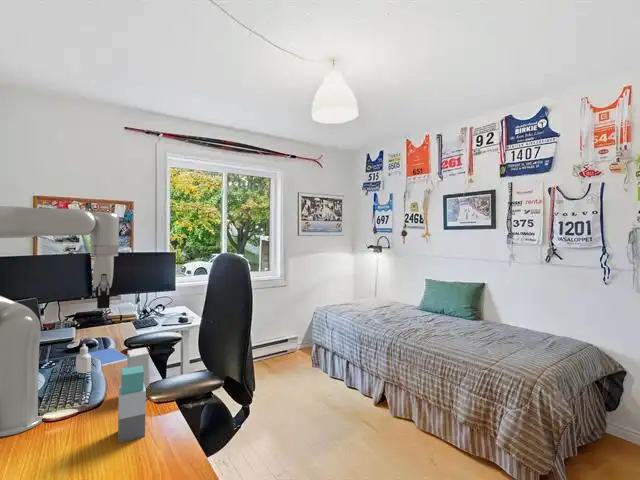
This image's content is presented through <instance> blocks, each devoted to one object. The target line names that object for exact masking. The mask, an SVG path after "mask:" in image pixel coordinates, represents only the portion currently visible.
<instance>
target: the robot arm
mask: <svg viewBox="0 0 640 480" xmlns="http://www.w3.org/2000/svg"><path fill="white" fill-rule="evenodd" d="M119 225H120V218H119V215H118V214H117V213H115V212H110V211H108V212H106V211H97V212H96V211H95V212H90V211H88V210H85V209H82V208H45V207H41V208H40V207H27V206H12V205H11V206H9V205H8V206H7V205H5V206H3V205H2V206H1V205H0V239H10V238H11V239H16V238H17V239H19V238H21V239H23V238H29V237H31V238H32V237H40V236H41V237H47V236H48V237H49V236H51V237H53V236H54V237H55V236H57V237H58V236H86V235H89V234H90V248H89V249H90V252H89V253H90V255H89V256H90V257H93V258H94V259H93V268H92V269H93V270H92V271H93V274H92V276H93V277H92V278H93V279H92V288H93V289H96V288H98V289H97V295H96V296H97V297H96V299H97V300H96V303H97V304H96V308H97V309H99V310H100V309H101V310H102V309H109V308H110V306H111V305H110V303H111V301H110V296H111V295H110V288H112V285H113V279H114V268H115V267H114V262H115V257H118V256H119V235H120V234H119V232H120V231H119V230H120V228H119V227H120V226H119ZM41 328H42V327H41V322H40V319H39V317H38V316H37V314H36V313H35V312H34V311H33V310H32V309H31V308H29V307H28V306H26V305H24V304H22V303H19V302H17V301H14V300H11V299H10V298H7V297H5V296H2V295H0V437H7V436H12V435H17V434H20V433H22V432H25V431H29V430H30V429H33V428H35V427H36V426H38V425H40V424H41V423H42V422H43V421H42V419H43V417H39V416H38V410H39V365H40V363H39V361H40V360H39V359H40V358H39V357H40V342H41V332H42V330H41ZM37 416H38V417H37Z"/></svg>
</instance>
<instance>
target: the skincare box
mask: <svg viewBox="0 0 640 480" xmlns="http://www.w3.org/2000/svg"><path fill="white" fill-rule="evenodd" d="M126 352H127V353H126V354H127V355H126V356H127V365H126V368H129V367H136V366H143V370H144V385H145V389H146V388H147V387H148V386H149V387H150V362H149V361H150V360H149V359H150V352H149V351H148V349H147V348H146V347H139V348H135V349H128V350H126ZM147 400H148V399H147V398H146V401H147Z"/></svg>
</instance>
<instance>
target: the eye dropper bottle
mask: <svg viewBox="0 0 640 480" xmlns="http://www.w3.org/2000/svg"><path fill="white" fill-rule="evenodd" d="M88 353H89V347H88V346H86V343H83V344H82V346H81V347H80V348H79V353H78V354H77V355H76V356H75V372H76V371H77V372H79V373H87V372H89V371H91V372H92V363H91V355H90V354H88Z"/></svg>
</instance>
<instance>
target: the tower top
mask: <svg viewBox="0 0 640 480" xmlns="http://www.w3.org/2000/svg"><path fill="white" fill-rule="evenodd" d="M146 401H147V400H146V389H145V385H144V387H143V391H139V392H134V393H128V394H123V395H122V393H121V386H118V409H119V419H124V418H128V417H133V416H137V415H142V414H145V415H146V409H147V408H146V403H147V402H146Z"/></svg>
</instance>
